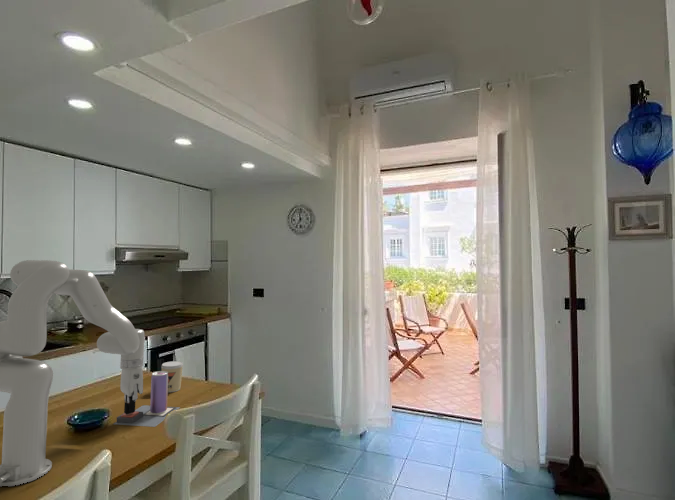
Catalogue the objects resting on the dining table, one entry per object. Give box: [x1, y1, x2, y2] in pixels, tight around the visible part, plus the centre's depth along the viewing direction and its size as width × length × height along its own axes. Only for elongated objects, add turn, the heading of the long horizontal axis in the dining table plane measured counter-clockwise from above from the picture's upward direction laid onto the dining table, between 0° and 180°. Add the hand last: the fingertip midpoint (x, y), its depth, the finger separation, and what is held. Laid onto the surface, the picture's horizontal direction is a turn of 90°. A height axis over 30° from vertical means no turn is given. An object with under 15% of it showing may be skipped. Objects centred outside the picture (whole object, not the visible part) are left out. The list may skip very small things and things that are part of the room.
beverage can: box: [149, 370, 169, 414], centre depth 148 cm, size 6×6×15 cm
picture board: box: [113, 405, 181, 428], centre depth 144 cm, size 18×16×3 cm
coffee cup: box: [160, 360, 184, 393], centre depth 176 cm, size 9×9×12 cm
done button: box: [120, 412, 139, 418], centre depth 140 cm, size 4×4×2 cm
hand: (129, 412), depth 140 cm, fingers closed
